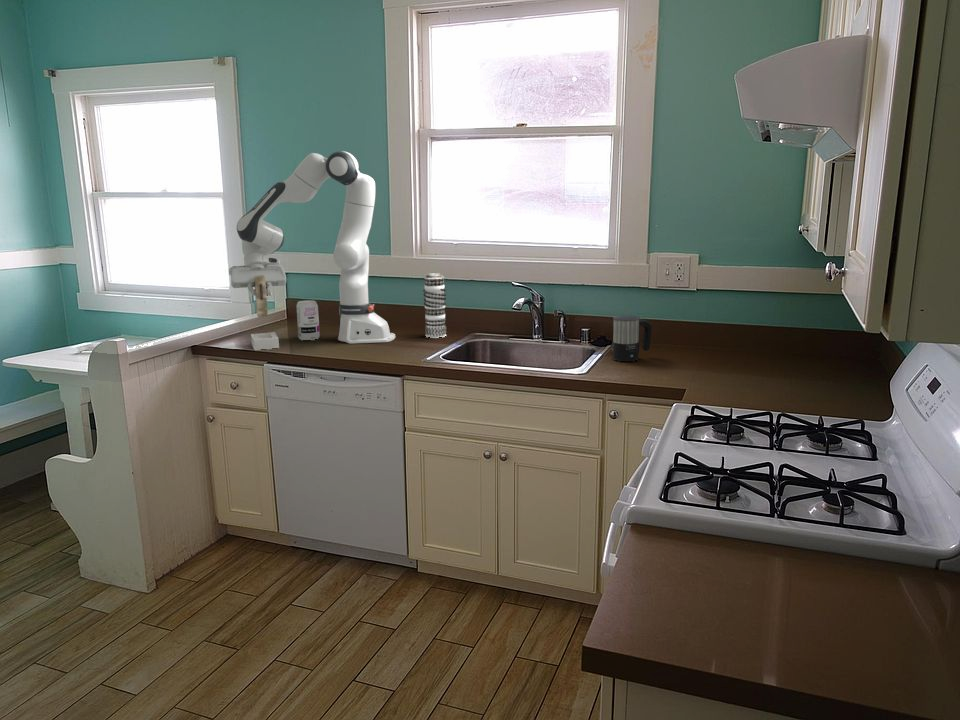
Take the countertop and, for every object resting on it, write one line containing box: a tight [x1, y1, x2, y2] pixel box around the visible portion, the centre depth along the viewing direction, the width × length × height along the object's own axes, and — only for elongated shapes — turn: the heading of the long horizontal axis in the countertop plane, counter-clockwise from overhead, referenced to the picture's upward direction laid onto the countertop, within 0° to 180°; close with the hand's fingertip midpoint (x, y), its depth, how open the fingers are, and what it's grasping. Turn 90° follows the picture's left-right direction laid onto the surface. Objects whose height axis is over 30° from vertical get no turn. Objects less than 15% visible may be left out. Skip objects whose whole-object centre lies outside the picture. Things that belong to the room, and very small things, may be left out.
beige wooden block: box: [254, 275, 269, 318], centre depth 283 cm, size 4×5×15 cm
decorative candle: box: [422, 272, 447, 339], centre depth 300 cm, size 9×9×25 cm
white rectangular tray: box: [250, 331, 280, 351], centre depth 287 cm, size 12×9×4 cm
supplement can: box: [295, 299, 321, 341], centre depth 298 cm, size 8×8×15 cm
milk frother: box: [610, 314, 653, 362], centre depth 261 cm, size 14×16×15 cm
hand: (260, 294), depth 282 cm, fingers closed on beige wooden block, 3 cm apart
